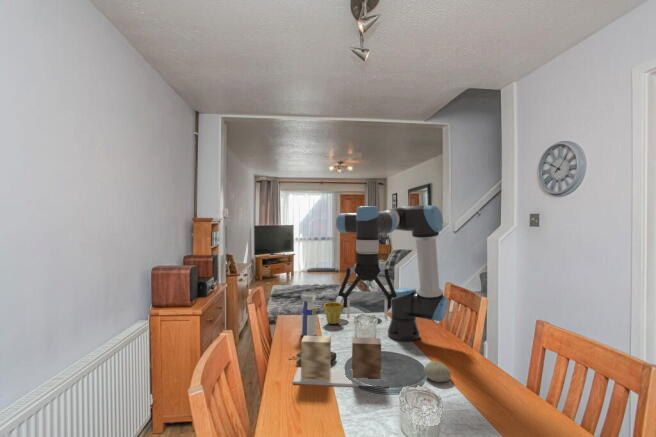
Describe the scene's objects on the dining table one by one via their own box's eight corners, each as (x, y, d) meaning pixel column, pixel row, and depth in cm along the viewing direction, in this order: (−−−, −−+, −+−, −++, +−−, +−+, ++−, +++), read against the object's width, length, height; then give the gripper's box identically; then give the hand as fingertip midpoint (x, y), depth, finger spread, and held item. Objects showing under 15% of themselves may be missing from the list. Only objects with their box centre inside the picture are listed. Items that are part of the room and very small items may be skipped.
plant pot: (336, 326, 178) (336, 307, 178) (320, 323, 183) (320, 305, 183) (345, 321, 187) (345, 303, 187) (329, 318, 192) (330, 301, 192)
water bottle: (320, 332, 168) (321, 283, 168) (310, 337, 160) (311, 285, 161) (307, 329, 172) (307, 281, 172) (297, 334, 165) (297, 284, 165)
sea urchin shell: (449, 366, 123) (451, 358, 117) (449, 389, 118) (451, 382, 112) (424, 362, 126) (424, 354, 120) (423, 384, 121) (423, 377, 115)
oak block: (330, 371, 123) (330, 336, 123) (329, 379, 117) (329, 342, 117) (303, 370, 123) (303, 335, 123) (301, 378, 117) (301, 341, 117)
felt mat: (385, 373, 123) (385, 370, 123) (389, 387, 112) (389, 385, 112) (298, 369, 126) (298, 367, 126) (292, 383, 115) (292, 381, 115)
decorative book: (301, 352, 144) (301, 340, 144) (337, 361, 135) (337, 348, 135) (282, 363, 132) (282, 351, 132) (320, 374, 123) (320, 360, 123)
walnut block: (379, 373, 121) (379, 338, 121) (381, 381, 115) (381, 344, 115) (352, 372, 122) (352, 337, 122) (352, 380, 116) (352, 343, 116)
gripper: (402, 251, 113) (402, 315, 113) (332, 251, 115) (331, 313, 115) (405, 254, 106) (405, 322, 106) (330, 253, 108) (330, 320, 108)
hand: (367, 317), depth 110 cm, fingers open, 12 cm apart
